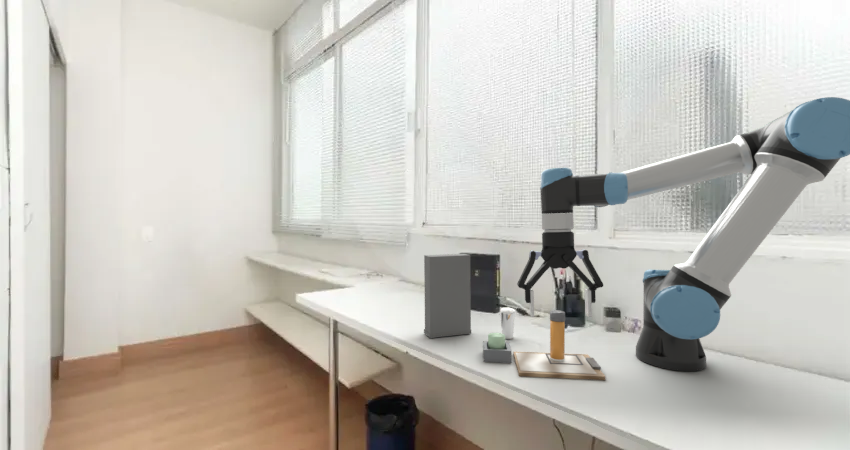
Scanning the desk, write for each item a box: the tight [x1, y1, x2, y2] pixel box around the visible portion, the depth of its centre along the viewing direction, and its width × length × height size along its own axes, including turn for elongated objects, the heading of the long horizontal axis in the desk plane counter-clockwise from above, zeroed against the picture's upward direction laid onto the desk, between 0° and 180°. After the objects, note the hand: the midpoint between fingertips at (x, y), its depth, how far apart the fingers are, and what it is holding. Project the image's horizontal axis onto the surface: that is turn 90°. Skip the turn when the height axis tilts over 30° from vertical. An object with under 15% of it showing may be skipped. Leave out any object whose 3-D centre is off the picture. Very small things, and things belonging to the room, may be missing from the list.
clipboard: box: [513, 351, 606, 381], centre depth 94 cm, size 19×14×1 cm
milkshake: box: [499, 305, 519, 340], centre depth 117 cm, size 4×5×10 cm
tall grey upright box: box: [423, 253, 472, 339], centre depth 121 cm, size 14×6×25 cm, turn 108°
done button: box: [487, 332, 506, 349], centre depth 101 cm, size 4×4×4 cm
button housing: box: [482, 340, 512, 364], centre depth 101 cm, size 7×7×3 cm
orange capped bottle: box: [549, 309, 566, 362], centre depth 96 cm, size 4×4×12 cm
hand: (560, 315), depth 96 cm, fingers open, 13 cm apart
